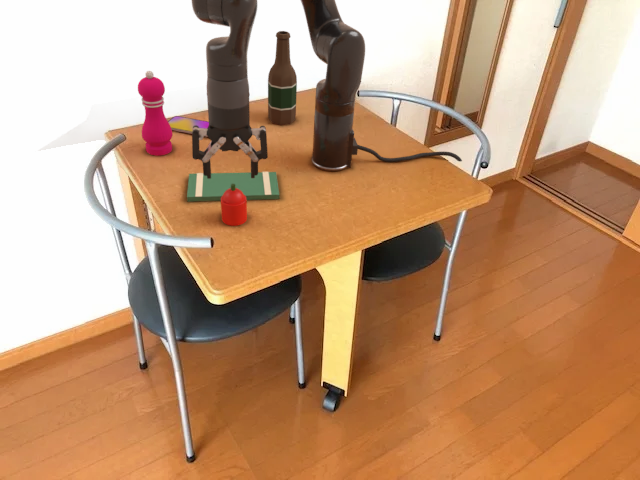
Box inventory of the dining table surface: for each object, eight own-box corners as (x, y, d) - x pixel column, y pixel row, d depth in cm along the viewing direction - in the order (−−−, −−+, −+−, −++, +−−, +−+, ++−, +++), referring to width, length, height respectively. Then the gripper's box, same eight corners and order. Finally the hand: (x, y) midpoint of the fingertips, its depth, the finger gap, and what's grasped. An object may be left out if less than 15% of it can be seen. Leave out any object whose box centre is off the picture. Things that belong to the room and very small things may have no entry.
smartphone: (175, 115, 152) (225, 124, 149) (175, 117, 152) (225, 127, 149) (161, 126, 146) (213, 136, 143) (162, 128, 147) (213, 138, 143)
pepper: (246, 211, 118) (245, 177, 113) (247, 225, 114) (246, 191, 109) (221, 212, 117) (219, 178, 112) (221, 226, 113) (219, 191, 108)
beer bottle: (294, 126, 152) (297, 38, 138) (266, 124, 152) (266, 36, 138) (296, 114, 159) (299, 28, 144) (269, 113, 158) (269, 27, 144)
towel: (276, 176, 130) (276, 171, 130) (279, 199, 123) (279, 194, 122) (189, 178, 127) (189, 173, 127) (187, 201, 120) (186, 196, 119)
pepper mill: (166, 158, 134) (157, 78, 122) (139, 154, 135) (126, 74, 123) (178, 145, 140) (170, 67, 128) (152, 141, 141) (141, 63, 129)
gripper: (186, 107, 96) (193, 186, 106) (269, 107, 98) (268, 185, 108) (189, 90, 102) (195, 167, 112) (266, 91, 104) (266, 166, 114)
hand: (231, 176), depth 110 cm, fingers open, 8 cm apart
